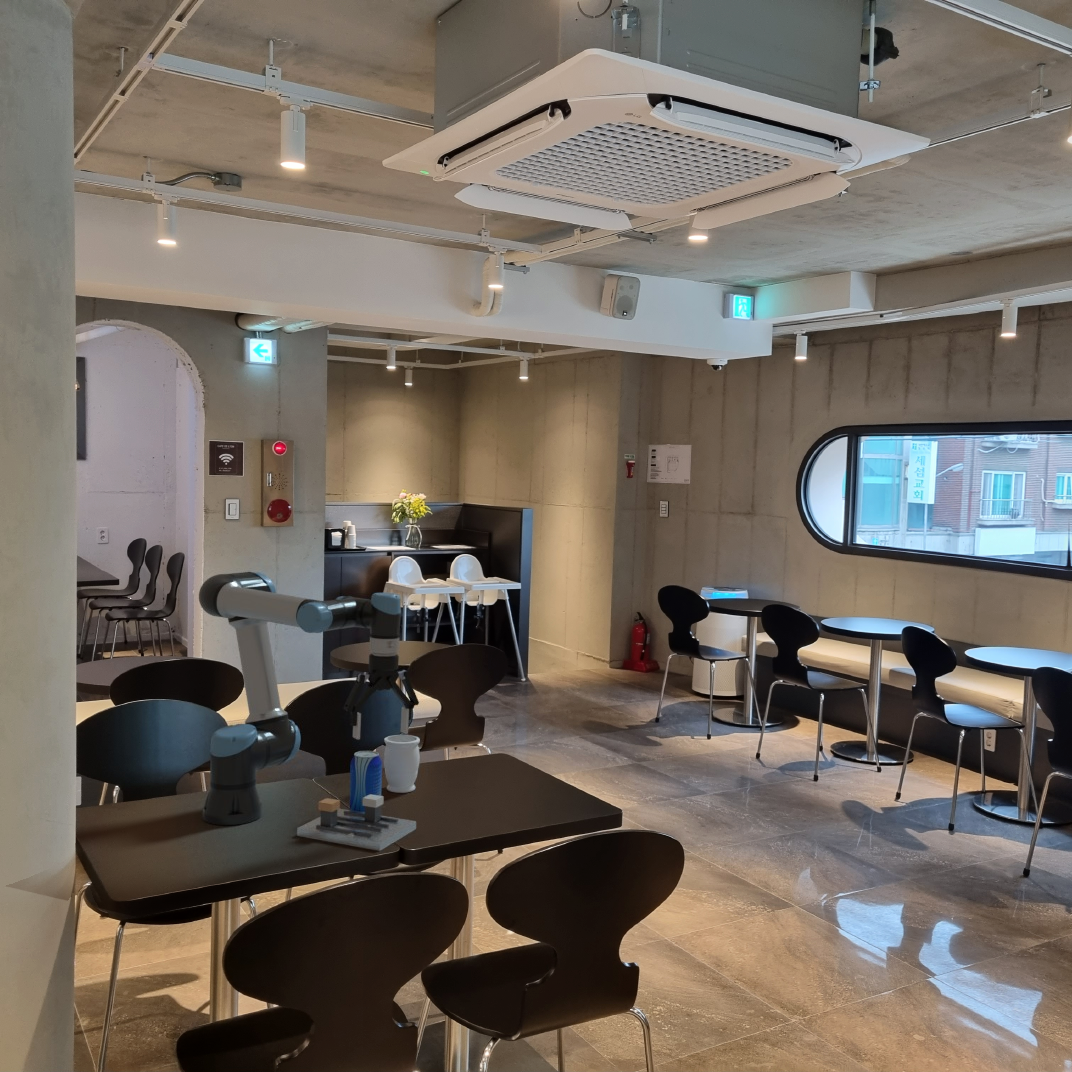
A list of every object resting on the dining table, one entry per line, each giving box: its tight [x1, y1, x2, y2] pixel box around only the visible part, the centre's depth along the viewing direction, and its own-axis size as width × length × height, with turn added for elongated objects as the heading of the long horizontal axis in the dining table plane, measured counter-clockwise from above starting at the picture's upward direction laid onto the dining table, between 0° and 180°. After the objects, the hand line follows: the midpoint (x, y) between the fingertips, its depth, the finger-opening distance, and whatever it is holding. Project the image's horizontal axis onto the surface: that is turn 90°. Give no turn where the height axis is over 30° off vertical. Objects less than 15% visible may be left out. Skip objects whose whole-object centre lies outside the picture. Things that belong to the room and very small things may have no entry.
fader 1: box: [318, 797, 341, 827], centre depth 255 cm, size 4×4×6 cm
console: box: [296, 808, 417, 852], centre depth 257 cm, size 24×18×3 cm
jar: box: [383, 734, 421, 794], centre depth 295 cm, size 11×10×15 cm
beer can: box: [349, 750, 383, 813], centre depth 273 cm, size 8×8×16 cm
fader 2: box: [363, 794, 385, 822], centre depth 259 cm, size 4×4×6 cm
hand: (380, 735), depth 259 cm, fingers open, 13 cm apart
